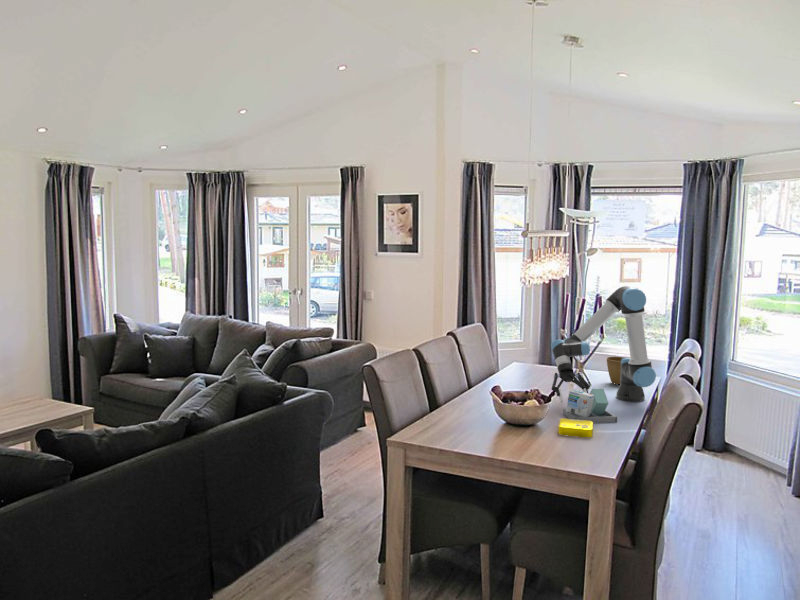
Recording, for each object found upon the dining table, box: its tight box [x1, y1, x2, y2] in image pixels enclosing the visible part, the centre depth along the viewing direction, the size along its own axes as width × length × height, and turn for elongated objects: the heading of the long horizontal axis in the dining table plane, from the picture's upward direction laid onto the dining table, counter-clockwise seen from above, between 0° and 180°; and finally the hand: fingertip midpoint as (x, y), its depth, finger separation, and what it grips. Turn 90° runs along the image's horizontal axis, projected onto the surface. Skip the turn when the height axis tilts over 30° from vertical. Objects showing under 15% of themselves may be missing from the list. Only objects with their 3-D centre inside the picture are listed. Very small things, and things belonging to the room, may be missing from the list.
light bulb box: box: [565, 389, 594, 417], centre depth 302 cm, size 11×7×11 cm, turn 52°
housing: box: [562, 408, 618, 424], centre depth 302 cm, size 21×16×3 cm
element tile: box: [557, 418, 594, 438], centre depth 281 cm, size 15×15×5 cm
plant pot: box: [606, 356, 625, 385], centre depth 381 cm, size 15×15×16 cm
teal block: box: [589, 388, 609, 415], centre depth 306 cm, size 6×10×9 cm
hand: (574, 401), depth 310 cm, fingers open, 13 cm apart
